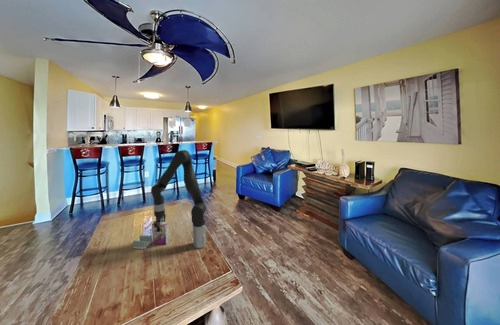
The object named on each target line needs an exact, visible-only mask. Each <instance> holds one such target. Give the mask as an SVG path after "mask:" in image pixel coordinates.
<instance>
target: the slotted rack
mask: <svg viewBox="0 0 500 325" xmlns="http://www.w3.org/2000/svg"><path fill="white" fill-rule="evenodd" d="M151 244H153V236H152V235H143V234H140V235H139V240H133V241H132V249H138V250H140V249H141V250H146V248H148V247H149V246H150V245H151Z"/></svg>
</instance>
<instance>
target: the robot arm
mask: <svg viewBox="0 0 500 325" xmlns="http://www.w3.org/2000/svg"><path fill="white" fill-rule="evenodd" d="M181 165H182V168H183V183H184V186H185V189H186V191H187V193H188V194H189V195H190V196H191V198H192V200H193V203H194V206H193V207H192V208H191V212H190V213H191V215H190V216H191V223H192V235H193V236H192V244H193V246H192V247H193V248H195V249H202V248H203V249H204V248H206V247H205V246H206V245H207V232H206V219H205V218H204V217H205V216H204V215H205V213H206V211H207V206H206V203H205V201H204V198H203V196H202V193H201V190H200V186H199V182H198V179H197V176H196V173H195V170H194V166H193V162H192V158H191V154H190V152H189V151H188V150H185V149H183V150H178V151H176V152H175V153H174V156H173V157H172V160H171V161H170V163H169V165H168V166H167V168H166V170H165V171H164V172H163V174H162V175H161V176H160V178H159V179H158V180H159V181H158V182H157V183H156V184H154V185H152V186H151V190H150V191H151V195H152V199H153V215H154V217H155V220H153V223H154V227H155V228H157V232H160V224H161V222H166V219H167V218H166V216H167V214H166V211H165V210H166V209H165V208H166V206H165V197H164V195H163V194H161V193H162V192H164V191H165V190H166V188H167V187H168V185H169V183H170V182H171V180H172V179H173V178H174V176H175V174H176V171H177V170H178V169H179V167H180V166H181ZM158 222H160V223H158ZM153 223H152V224H153ZM158 224H159V226H158Z"/></svg>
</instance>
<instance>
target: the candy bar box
mask: <svg viewBox="0 0 500 325" xmlns="http://www.w3.org/2000/svg"><path fill="white" fill-rule="evenodd" d="M158 223H160V222H158ZM158 226H159V224H158ZM169 229H170V228H169V222H166V221H165V222H161V224H160V232H157V228H155V227H154V223H152V224H151V231H152V232H151V234H152V235H151V236H152V244H153V245H155V244H156V245H165V246H166V245H167V244H168V243H170V230H169Z"/></svg>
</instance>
